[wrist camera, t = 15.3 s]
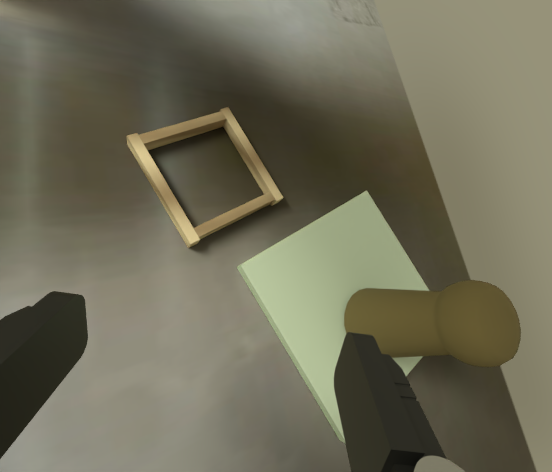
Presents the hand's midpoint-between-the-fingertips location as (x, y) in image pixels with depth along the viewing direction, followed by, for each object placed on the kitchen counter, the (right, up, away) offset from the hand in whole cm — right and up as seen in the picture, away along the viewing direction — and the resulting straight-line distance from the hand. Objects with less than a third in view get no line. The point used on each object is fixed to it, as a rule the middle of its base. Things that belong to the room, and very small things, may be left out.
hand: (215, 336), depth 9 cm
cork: (+10, -5, +18) cm, 21 cm away
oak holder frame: (-4, +8, +17) cm, 19 cm away
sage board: (+9, -3, +19) cm, 21 cm away
